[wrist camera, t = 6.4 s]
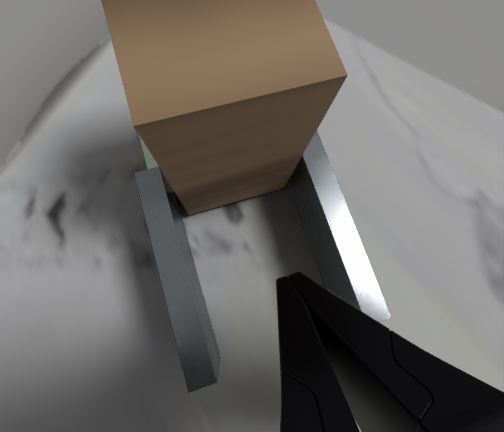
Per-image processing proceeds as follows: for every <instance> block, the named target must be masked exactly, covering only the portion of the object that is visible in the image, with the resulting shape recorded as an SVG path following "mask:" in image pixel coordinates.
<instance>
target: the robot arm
mask: <svg viewBox="0 0 504 432" xmlns="http://www.w3.org/2000/svg"><path fill="white" fill-rule="evenodd" d="M276 290H277V310H278V331H279V351H280V371H281V374H280V375H281V423H280V432H359V429H358V427H357V424H358V426H359V427H360V429H361V431H362V432H504V392H502V391H500V390H498V389H496V388H494V387H492V386H490V385H488V384H487V383H485V382H483V381H481V380H479V379H477V378H475V377H473V376H471V375H469V374H467V373H466V372H464V371H462V370H460V369H458V368H456V367H454V366H452V365H450V364H448V363H446V362H445V361H443V360H441V359H439V358H437V357H435V356H434V355H432V354H430V353H428V352H426V351H424V350H423V349H421V348H419V347H418V346H416V345H414V344H413V343H411V342H409V341H408V340H406V339H404V338H403V337H401V336H400V335H398V334H396V333H395V332H393V331H390V330H389V328H387V327H385V326H384V325H382V324H381V323H379V322H378V321H376V320H374V319H373V318H371V317H370V316H368V315H367V314H365V313H363V312H362V311H360V310H359V309H357V308H356V307H354V306H352V305H351V304H349V303H348V302H346V301H345V300H343V299H342V298H340V297H338V296H337V295H335V294H334V293H332V292H331V291H329V290H327V289H326V288H324V287H323V286H321V285H320V284H318V283H316V282H315V281H313V280H312V279H310V278H309V277H307V276H305V275H304V274H302V273H301V272H296V273H293V274H290V275H289V276H284V277H281V278H278V279H277V280H276ZM354 419H355V420H356V422H357V424H356V422H355V420H354Z"/></svg>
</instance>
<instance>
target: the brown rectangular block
mask: <svg viewBox="0 0 504 432" xmlns="http://www.w3.org/2000/svg"><path fill="white" fill-rule="evenodd" d="M101 1H102V4H103V8H104V12H105V16H106V20H107V24H108V28H109V31H110V36H111V39H112V43H113V47H114V51H115V55H116V59H117V63H118V67H119V71H120V74H121V78H122V82H123V86H124V90H125V94H126V98H127V102H128V106H129V109H130V113H131V117H132V121H133V125H134V127H135V129H136V130H137V132H138V134H139V135H140V137H141V138H142V140H143V142H144V143H145V145H146V147H147V148H148V150H149V151H150V153H151V155H152V156H153V158H154V159H155V161H156V163H157V164H158V166H159V167H160V169H161V171H162V172H163V174H164V175H165V177H166V179H167V180H168V182H169V184H170V185H171V187H172V188H173V190H174V192H175V193H176V195H177V196H178V198H179V200H180V201H181V203H182V204H183V206H184V208H185V209H186V211H187V212H188V214H189V215H192V214H195V213H199V212H202V211H206V210H209V209H213V208H216V207H220V206H223V205H227V204H230V203H234V202H237V201H241V200H244V199H248V198H251V197H254V196H258V195H261V194H265V193H268V192H272V191H275V190H279V189H282V188H284V187H285V185H286V184H287V182H288V180H289V178H290V177H291V175H292V173H293V171H294V169H295V168H296V166H297V164H298V162H299V161H300V159H301V157H302V155H303V153H304V152H305V150H306V148H307V146H308V145H309V143H310V141H311V139H312V137H313V136H314V134H315V132H316V130H317V129H318V127H319V125H320V123H321V121H322V120H323V118H324V116H325V114H326V113H327V111H328V109H329V107H330V105H331V104H332V102H333V100H334V98H335V97H336V95H337V93H338V91H339V89H340V88H341V86H342V84H343V82H344V81H345V79H346V77H347V73H346V70H345V68H344V66H343V64H342V61H341V59H340V57H339V54H338V52H337V50H336V48H335V45H334V43H333V41H332V38H331V36H330V34H329V32H328V29H327V27H326V25H325V22H324V20H323V18H322V16H321V13H320V11H319V9H318V7H317V4H316V2H315V0H101Z"/></svg>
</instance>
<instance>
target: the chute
mask: <svg viewBox="0 0 504 432" xmlns="http://www.w3.org/2000/svg"><path fill="white" fill-rule="evenodd" d="M139 138H140V142H141V146H142V150H143V153H144V157H145V161H146V165H147V170H143V171H139V172H135V173H134V175H135V179H136V183H137V187H138V191H139V195H140V199H141V203H142V207H143V211H144V215H145V219H146V223H147V227H148V231H149V235H150V239H151V243H152V247H153V251H154V255H155V259H156V263H157V267H158V271H159V275H160V279H161V283H162V287H163V291H164V295H165V300H166V304H167V308H168V312H169V316H170V320H171V324H172V328H173V332H174V336H175V340H176V344H177V348H178V352H179V356H180V360H181V364H182V368H183V372H184V376H185V380H186V384H187V388H188V392H192V391H195V390H197V389H200V388H203V387H206V386H208V385H211V384H214V383H216V382H217V378H218V371H219V364H220V355H219V351H218V348H217V344H216V340H215V337H214V333H213V329H212V326H211V322H210V318H209V315H208V311H207V307H206V304H205V300H204V297H203V293H202V289H201V286H200V282H199V278H198V275H197V271H196V267H195V264H194V260H193V256H192V253H191V249H190V246H189V242H188V238H187V235H186V231H185V227H184V224H183V220H182V216H181V213H180V209H179V206H178V202H177V198H176V195H175V192H174V190H173V188H172V187H171V185H170V184H169V182H168V180H167V179H166V177H165V175H164V174H163V172H162V171H161V169H160V167H159V166H158V164H157V163H156V161H155V159H154V158H153V156H152V155H151V153H150V151H149V150H148V148H147V147H146V145H145V143H144V142H143V140H142V138H141V137H140V135H139ZM288 184H289V187H290V190H291V193H292V195H293V198H294V201H295V204H296V207H297V209H298V212H299V215H300V218H301V221H302V223H303V226H304V229H305V232H306V234H307V237H308V240H309V243H310V246H311V248H312V251H313V254H314V257H315V259H316V262H317V265H318V268H319V271H320V273H321V276H322V279H323V282H324V284H325V287H326V289H327V290H329V291H331V292H332V293H334V294H335V295H337V296H338V297H340V298H342V299H343V300H345V301H346V302H348V303H349V304H351V305H352V306H354V307H356V308H357V309H359V310H360V311H362V312H363V313H365V314H367V315H368V316H370V317H371V318H373V319H374V320H376V321H378V322H381V321H383V320H386V319H389V318H391V316H390V313H389V311H388V308H387V306H386V303H385V301H384V298H383V296H382V293H381V291H380V288H379V286H378V283H377V281H376V278H375V276H374V273H373V271H372V268H371V266H370V263H369V261H368V258H367V255H366V253H365V250H364V248H363V245H362V243H361V240H360V238H359V235H358V233H357V230H356V228H355V225H354V223H353V220H352V218H351V215H350V213H349V210H348V208H347V205H346V202H345V200H344V197H343V195H342V192H341V190H340V187H339V185H338V182H337V180H336V177H335V175H334V172H333V170H332V167H331V165H330V162H329V160H328V157H327V155H326V152H325V149H324V147H323V144H322V142H321V139H320V137H319V134H318V132H317V130H316V132H315V134H314V136H313V137H312V139H311V141H310V143H309V145H308V146H307V148H306V150H305V152H304V153H303V155H302V157H301V159H300V161H299V162H298V164H297V166H296V168H295V169H294V171H293V173H292V175H291V177H290V178H289V180H288Z"/></svg>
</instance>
